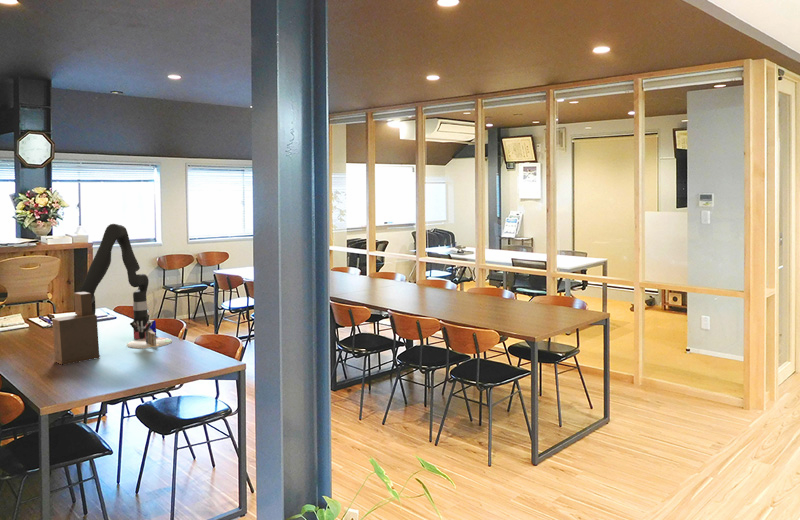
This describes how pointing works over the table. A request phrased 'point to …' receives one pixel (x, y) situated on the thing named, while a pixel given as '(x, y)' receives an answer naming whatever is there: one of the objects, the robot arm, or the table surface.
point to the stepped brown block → (76, 333)
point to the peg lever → (150, 337)
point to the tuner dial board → (143, 344)
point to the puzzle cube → (153, 327)
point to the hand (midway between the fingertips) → (142, 338)
